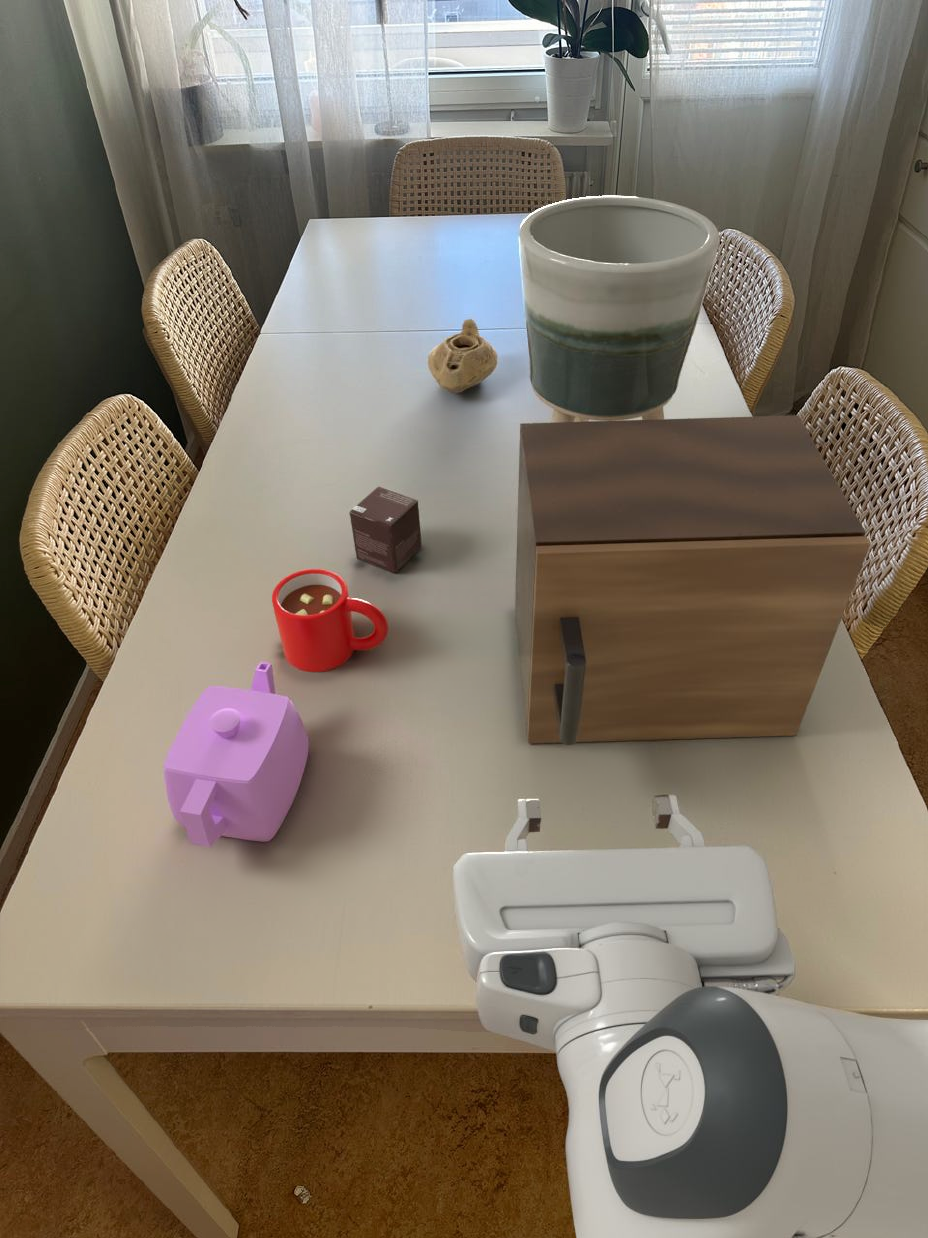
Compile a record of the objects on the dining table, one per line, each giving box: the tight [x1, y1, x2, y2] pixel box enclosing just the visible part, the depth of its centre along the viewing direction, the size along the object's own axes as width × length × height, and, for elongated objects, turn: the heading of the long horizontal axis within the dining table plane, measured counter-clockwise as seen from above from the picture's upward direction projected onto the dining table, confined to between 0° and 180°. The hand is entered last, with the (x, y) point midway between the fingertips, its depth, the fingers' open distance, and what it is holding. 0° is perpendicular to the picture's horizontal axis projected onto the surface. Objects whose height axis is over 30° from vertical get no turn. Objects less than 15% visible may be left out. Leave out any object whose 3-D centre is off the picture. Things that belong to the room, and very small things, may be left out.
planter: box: [517, 195, 721, 423], centre depth 106 cm, size 22×22×33 cm
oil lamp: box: [427, 318, 498, 394], centre depth 135 cm, size 11×15×8 cm
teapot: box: [163, 661, 310, 848], centre depth 79 cm, size 18×10×10 cm, turn 169°
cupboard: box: [514, 414, 867, 733], centre depth 84 cm, size 18×26×24 cm
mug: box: [271, 568, 389, 673], centre depth 93 cm, size 8×12×8 cm, turn 83°
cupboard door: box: [526, 535, 871, 746], centre depth 75 cm, size 7×26×24 cm, turn 91°
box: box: [349, 485, 423, 574], centre depth 104 cm, size 6×6×7 cm
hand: (595, 801), depth 61 cm, fingers open, 8 cm apart
